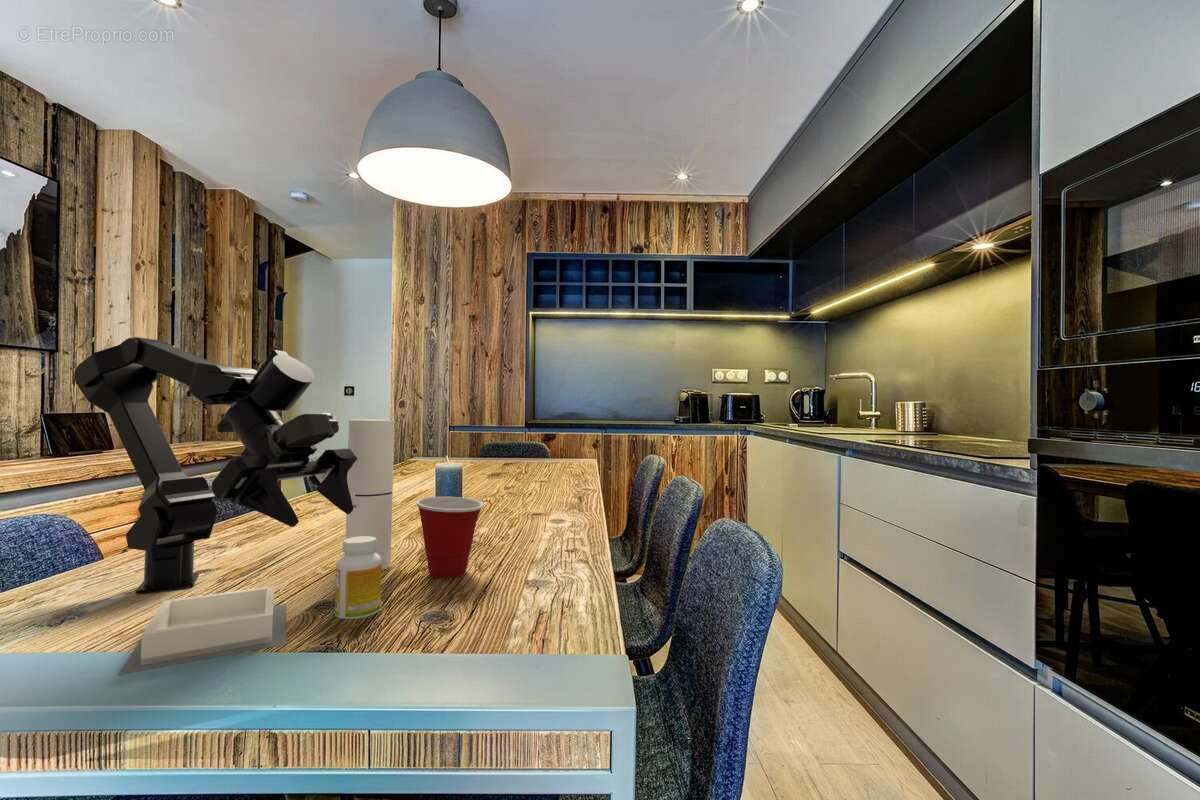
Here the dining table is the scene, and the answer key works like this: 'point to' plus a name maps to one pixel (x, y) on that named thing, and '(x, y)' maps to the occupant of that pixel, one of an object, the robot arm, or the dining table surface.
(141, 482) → the robot arm
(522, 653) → the dining table surface
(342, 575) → the supplement bottle
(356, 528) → the cylindrical container
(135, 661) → the mat
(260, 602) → the dish
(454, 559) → the plastic cup
